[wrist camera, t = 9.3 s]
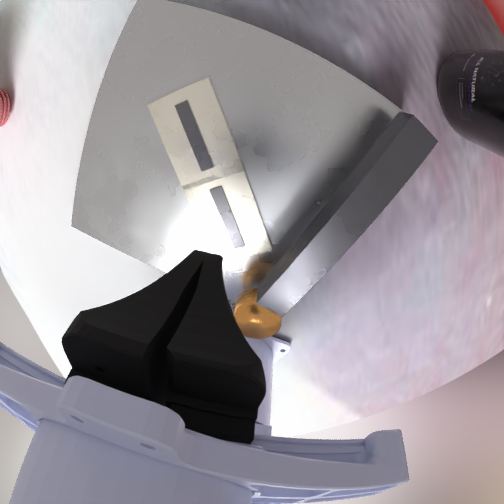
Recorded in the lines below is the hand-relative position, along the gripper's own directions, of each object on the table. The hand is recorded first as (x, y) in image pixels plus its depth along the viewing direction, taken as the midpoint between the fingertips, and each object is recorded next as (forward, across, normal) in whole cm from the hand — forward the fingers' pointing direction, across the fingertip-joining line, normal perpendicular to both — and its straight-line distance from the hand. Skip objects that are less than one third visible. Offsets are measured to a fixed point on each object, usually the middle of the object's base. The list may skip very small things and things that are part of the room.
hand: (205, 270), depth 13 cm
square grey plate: (+7, +2, -3) cm, 8 cm away
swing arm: (+5, -6, -1) cm, 8 cm away
